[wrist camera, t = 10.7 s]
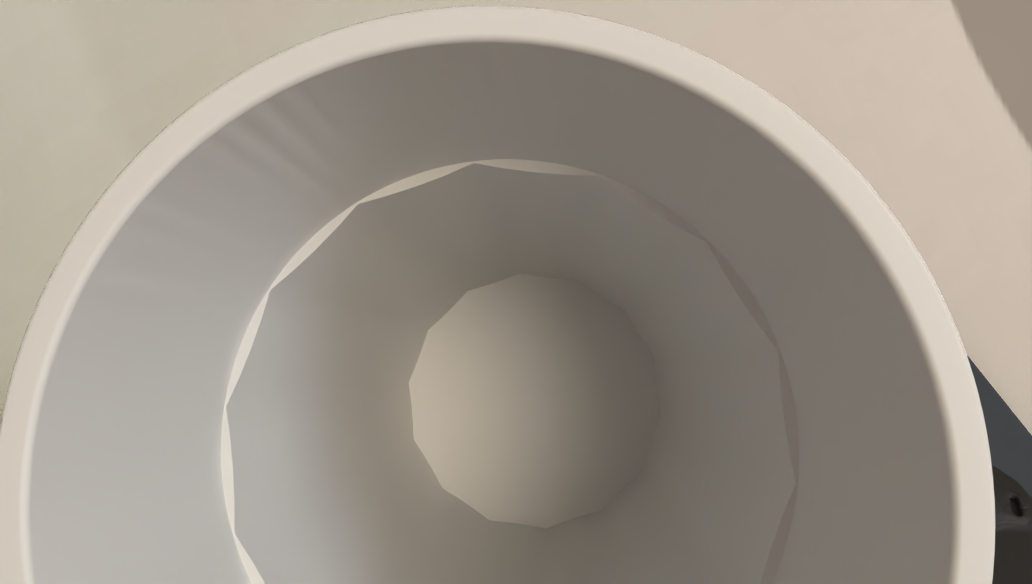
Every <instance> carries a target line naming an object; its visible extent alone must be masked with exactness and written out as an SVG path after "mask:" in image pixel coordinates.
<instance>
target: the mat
mask: <svg viewBox="0 0 1032 584" xmlns="http://www.w3.org/2000/svg"><path fill="white" fill-rule="evenodd" d="M967 357H968V356H967ZM968 360H969V363H970V366H971V370H972V373H973V376H974V379H975V383H976V387H977V390H978V394H979V398H980V402H981V407H982V411H983V415H984V420H985V425H986V430H987V436H988V442H989V449H990V455H991V464H992V466H995V467H996V468H998V469H999V470H1001V471H1002V472H1004V473H1005V474H1007V475H1008V476H1010V477H1011V478H1013V479H1014V480H1016V481H1017V482H1018V483H1019V484H1020V485H1021V486H1022V487H1023V489H1024V490H1025V491H1026V492H1027V493H1028V494H1029V495H1030V497H1031V498H1032V436H1031V434H1030V433H1029V432H1028V431H1027V429H1026V428H1025V427H1024V426H1023V424H1022V423H1021V422H1020V421H1019V419H1018V418H1017V417H1016V416H1015V414H1014V413H1013V412H1012V411H1011V409H1010V408H1009V407H1008V406H1007V404H1006V403H1005V402H1004V401H1003V399H1002V398H1001V397H1000V396H999V394H998V393H997V392H996V391H995V389H994V388H993V387H992V386H991V384H990V383H989V382H988V381H987V379H986V378H985V377H984V376H983V374H982V373H981V372H980V371H979V369H978V368H977V367H976V366H975V364H974V363H973V362H972V361H971V359H970V358H969V357H968Z"/></svg>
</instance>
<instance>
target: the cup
mask: <svg viewBox="0 0 1032 584" xmlns="http://www.w3.org/2000/svg"><path fill="white" fill-rule="evenodd" d="M994 555H995V498H994V484H993V473H992V464H991V455H990V449H989V442H988V436H987V430H986V425H985V420H984V415H983V411H982V407H981V402H980V398H979V394H978V390H977V387H976V383H975V379H974V376H973V373H972V370H971V366H970V363H969V360H968V357H967V354H966V351H965V349H964V346H963V343H962V340H961V337H960V335H959V332H958V330H957V328H956V325H955V323H954V320H953V318H952V315H951V313H950V311H949V309H948V307H947V304H946V302H945V300H944V298H943V296H942V294H941V292H940V290H939V288H938V286H937V284H936V282H935V280H934V278H933V276H932V274H931V273H930V271H929V269H928V267H927V265H926V264H925V262H924V260H923V258H922V257H921V255H920V253H919V252H918V250H917V249H916V247H915V245H914V244H913V242H912V240H911V239H910V237H909V236H908V234H907V233H906V231H905V230H904V229H903V227H902V226H901V224H900V223H899V221H898V220H897V218H896V217H895V216H894V214H893V213H892V212H891V210H890V209H889V208H888V206H887V205H886V204H885V202H884V201H883V200H882V198H881V197H880V196H879V195H878V194H877V192H876V191H875V190H874V189H873V188H872V186H871V185H870V184H869V183H868V182H867V180H866V179H865V178H864V177H863V176H862V175H861V174H860V173H859V172H858V170H857V169H856V168H855V167H854V166H853V165H852V164H851V163H850V162H849V161H848V160H847V159H846V158H845V157H844V156H843V155H842V154H841V153H840V152H839V151H838V150H837V149H836V148H835V147H834V146H833V145H832V144H831V143H830V142H829V141H828V140H827V139H826V138H825V137H823V136H822V135H821V134H820V133H819V132H818V131H817V130H816V129H814V128H813V127H812V126H811V125H810V124H809V123H808V122H806V121H805V120H804V119H803V118H801V117H800V116H799V115H797V114H796V113H795V112H794V111H792V110H791V109H790V108H789V107H787V106H786V105H785V104H783V103H782V102H780V101H779V100H778V99H776V98H775V97H773V96H772V95H771V94H769V93H768V92H766V91H765V90H763V89H762V88H760V87H759V86H757V85H756V84H754V83H752V82H751V81H749V80H747V79H746V78H744V77H743V76H741V75H739V74H738V73H736V72H734V71H732V70H731V69H729V68H727V67H725V66H723V65H721V64H719V63H718V62H716V61H714V60H712V59H710V58H708V57H706V56H704V55H702V54H699V53H697V52H695V51H693V50H691V49H689V48H687V47H684V46H682V45H680V44H677V43H675V42H672V41H669V40H667V39H664V38H662V37H659V36H657V35H654V34H651V33H648V32H645V31H642V30H639V29H636V28H633V27H629V26H626V25H623V24H619V23H615V22H611V21H607V20H603V19H599V18H595V17H591V16H586V15H580V14H575V13H569V12H564V11H557V10H548V9H540V8H531V7H514V6H459V7H448V8H436V9H426V10H420V11H414V12H408V13H401V14H395V15H391V16H386V17H382V18H378V19H373V20H369V21H365V22H361V23H358V24H354V25H351V26H348V27H344V28H341V29H338V30H335V31H331V32H329V33H326V34H323V35H321V36H318V37H315V38H313V39H310V40H308V41H305V42H302V43H300V44H297V45H295V46H293V47H291V48H289V49H287V50H284V51H282V52H280V53H278V54H276V55H274V56H271V57H269V58H267V59H266V60H264V61H262V62H260V63H258V64H256V65H255V66H253V67H251V68H249V69H247V70H245V71H244V72H242V73H240V74H238V75H237V76H235V77H234V78H232V79H231V80H229V81H227V82H226V83H224V84H223V85H221V86H220V87H218V88H216V89H215V90H213V91H212V92H211V93H209V94H208V95H206V96H205V97H204V98H202V99H201V100H200V101H198V102H197V103H196V104H194V105H193V106H191V107H190V108H189V109H187V110H186V111H185V112H184V113H183V114H181V115H180V116H179V117H178V118H177V119H175V120H174V121H173V122H172V123H171V124H169V125H168V126H167V127H166V128H165V129H163V130H162V131H161V132H160V133H159V134H158V135H157V136H156V137H155V138H154V139H153V140H152V141H151V142H150V143H149V144H148V145H146V146H145V147H144V148H143V149H142V150H141V151H140V152H139V153H138V154H137V155H136V157H135V158H134V159H133V160H132V161H131V162H130V163H129V164H128V165H127V166H126V167H125V168H124V169H123V171H122V172H121V173H120V174H119V175H118V176H117V177H116V179H115V180H114V181H113V182H112V183H111V185H110V186H109V187H108V188H107V189H106V191H105V192H104V193H103V194H102V196H101V197H100V198H99V199H98V201H97V202H96V204H95V205H94V206H93V208H92V209H91V210H90V212H89V213H88V215H87V216H86V217H85V219H84V220H83V221H82V223H81V225H80V226H79V228H78V229H77V231H76V232H75V234H74V235H73V237H72V239H71V240H70V242H69V243H68V245H67V247H66V248H65V250H64V252H63V254H62V255H61V257H60V259H59V261H58V262H57V264H56V266H55V268H54V269H53V271H52V273H51V275H50V277H49V279H48V281H47V283H46V285H45V287H44V289H43V291H42V294H41V296H40V298H39V300H38V303H37V305H36V307H35V310H34V312H33V314H32V316H31V319H30V321H29V324H28V327H27V329H26V332H25V335H24V337H23V340H22V343H21V346H20V349H19V352H18V355H17V358H16V362H15V365H14V368H13V372H12V375H11V379H10V383H9V387H8V391H7V395H6V400H5V404H4V409H3V413H2V419H1V425H0V584H992V580H993V568H994Z"/></svg>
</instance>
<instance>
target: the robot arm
mask: <svg viewBox="0 0 1032 584" xmlns="http://www.w3.org/2000/svg"><path fill="white" fill-rule="evenodd" d="M992 473H993V484H994V498H995V555H994V568H993V580H992V584H1032V498H1031V497H1030V495H1029V494H1028V493H1027V492H1026V491H1025V490H1024V489H1023V487H1022V486H1021V485H1020V484H1019V483H1018V482H1017V481H1016V480H1014V479H1013V478H1011V477H1010V476H1008V475H1007V474H1005V473H1004V472H1002V471H1001V470H999V469H998V468H996V467H995V466H992Z"/></svg>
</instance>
